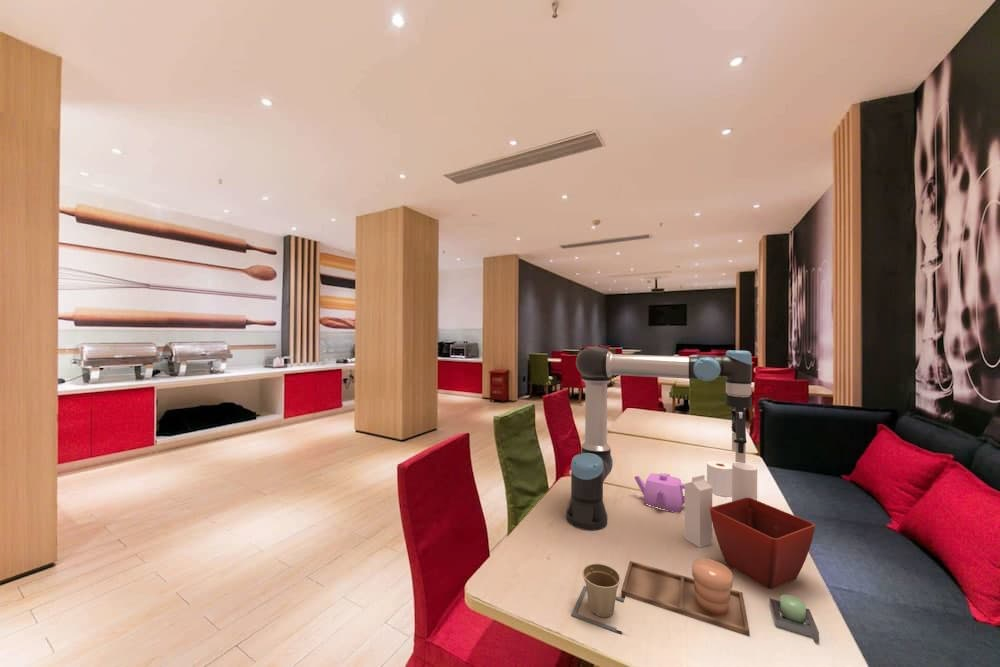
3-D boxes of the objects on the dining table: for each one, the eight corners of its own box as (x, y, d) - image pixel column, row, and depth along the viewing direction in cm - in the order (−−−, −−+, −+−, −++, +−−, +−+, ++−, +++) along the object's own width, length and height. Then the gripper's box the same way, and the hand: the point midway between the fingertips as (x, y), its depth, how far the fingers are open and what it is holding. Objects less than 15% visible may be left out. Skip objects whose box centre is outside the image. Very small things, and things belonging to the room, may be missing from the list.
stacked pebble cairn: (691, 609, 92) (691, 573, 93) (692, 587, 100) (692, 554, 100) (734, 623, 88) (734, 585, 88) (730, 599, 96) (731, 564, 96)
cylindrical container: (761, 546, 122) (761, 471, 122) (737, 543, 123) (737, 469, 124) (751, 535, 129) (751, 463, 129) (728, 532, 130) (728, 462, 131)
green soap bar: (782, 618, 88) (782, 604, 88) (778, 605, 92) (778, 592, 92) (808, 626, 86) (808, 611, 86) (802, 612, 90) (802, 598, 90)
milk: (712, 544, 123) (713, 478, 123) (699, 548, 121) (700, 481, 121) (696, 534, 129) (697, 471, 129) (683, 538, 126) (684, 474, 126)
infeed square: (571, 615, 91) (571, 614, 91) (584, 586, 102) (584, 585, 102) (621, 634, 86) (621, 633, 86) (629, 601, 96) (629, 600, 96)
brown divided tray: (621, 597, 98) (621, 590, 98) (629, 566, 111) (629, 560, 111) (749, 639, 84) (749, 631, 84) (742, 599, 97) (742, 592, 97)
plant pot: (774, 603, 96) (775, 538, 96) (707, 562, 113) (708, 507, 113) (816, 584, 104) (817, 524, 104) (747, 548, 121) (748, 496, 121)
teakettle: (695, 511, 146) (696, 480, 146) (658, 516, 142) (658, 484, 142) (667, 493, 163) (667, 465, 163) (632, 497, 159) (633, 468, 159)
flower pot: (599, 628, 87) (600, 592, 87) (574, 602, 96) (574, 569, 96) (628, 614, 92) (628, 580, 92) (601, 591, 100) (602, 559, 100)
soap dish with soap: (775, 629, 87) (775, 619, 87) (769, 607, 94) (769, 598, 94) (818, 643, 84) (819, 632, 84) (809, 619, 91) (809, 609, 91)
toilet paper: (710, 495, 161) (710, 467, 161) (704, 485, 171) (704, 459, 171) (736, 498, 158) (737, 470, 158) (729, 488, 168) (729, 462, 168)
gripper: (757, 401, 115) (756, 469, 115) (747, 391, 137) (746, 448, 137) (728, 399, 118) (728, 465, 118) (723, 389, 140) (723, 445, 140)
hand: (738, 456), depth 127 cm, fingers open, 13 cm apart
